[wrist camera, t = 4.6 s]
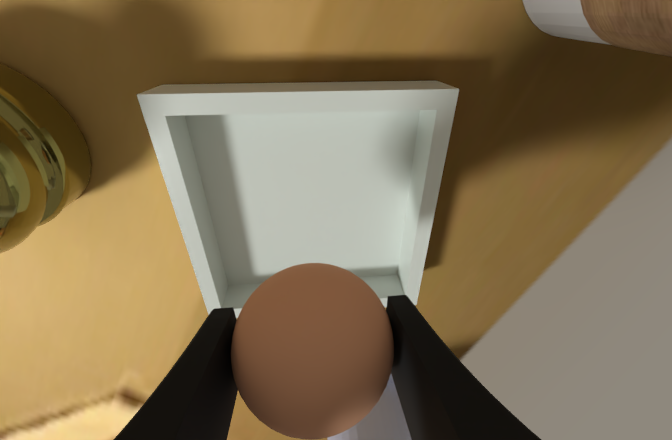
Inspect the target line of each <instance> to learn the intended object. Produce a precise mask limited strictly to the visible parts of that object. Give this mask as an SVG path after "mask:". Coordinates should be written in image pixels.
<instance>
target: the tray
mask: <svg viewBox="0 0 672 440" xmlns="http://www.w3.org/2000/svg"><path fill="white" fill-rule="evenodd" d="M458 93H459V89H458V88H455V87H453V86H450V85H447V84H445V83H442V82H439V81H370V82H301V83H233V84H165V85H160V86H157V87H155V88H152V89H149V90H147V91H144V92H142V93H139V94H136V95H137V98H138V101H139V104H140V107H141V110H142V113H143V116H144V119H145V122H146V125H147V128H148V131H149V134H150V137H151V140H152V143H153V146H154V149H155V153H156V156H157V159H158V162H159V165H160V168H161V171H162V174H163V177H164V180H165V183H166V186H167V189H168V192H169V195H170V198H171V201H172V204H173V207H174V210H175V213H176V217H177V220H178V223H179V226H180V229H181V232H182V235H183V238H184V241H185V244H186V247H187V250H188V253H189V256H190V259H191V262H192V265H193V268H194V271H195V274H196V278H197V281H198V284H199V287H200V290H201V293H202V296H203V299H204V302H205V305H206V308H207V311H208V314H210V312H211V311H212V310H213V309H216V308H230V307H233V308H234V312H235V316H236V318H238V316H239V314H240V312H241V310H242V308H243V306H244V304H245V303H246V301H247V300H248V298H249V297H250V296H251V294H252V293H253V292H254V291H255V290H256V289H257V288H258V287H259V286H260V285H261V284H262V283H263V282H264V281H265V280H267V279H268V278H269V277H271V276H273V275H274V274H276V273H278V272H279V271H281V270H284V269H286V268H289V267H292V266H295V265H300V264H306V263H324V264H330V265H334V266H337V267H340V268H343V269H345V270H348V271H350V272H352V273H353V274H355V275H356V276H358V277H359V278H361V279H362V280H363V281H364V282H365V283H367V284H368V285H369V286H370V287H371V289H372V290H373V291H374V292H375V293H376V295H377V296H378V297H379V299H380V300H381V302H382V304H383V306H384V307H387V299H388V296H396V295H407V296H408V297H409V299H410V300H411V301H412V303H413V304H414V305H416V304H417V299H418V294H419V289H420V284H421V279H422V274H423V269H424V264H425V259H426V254H427V249H428V244H429V239H430V234H431V229H432V224H433V219H434V214H435V209H436V204H437V199H438V194H439V189H440V184H441V179H442V174H443V169H444V164H445V159H446V154H447V149H448V144H449V139H450V133H451V128H452V123H453V118H454V113H455V108H456V103H457V98H458Z"/></svg>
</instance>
